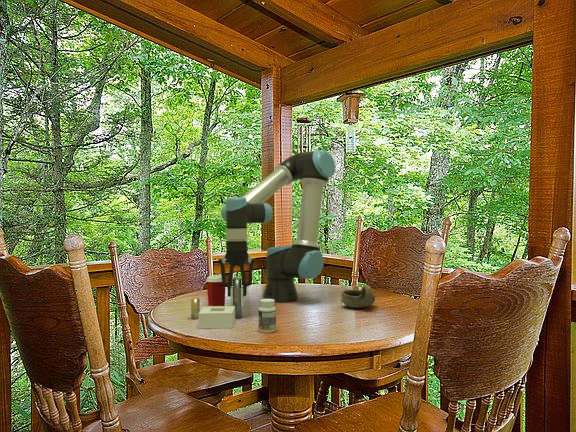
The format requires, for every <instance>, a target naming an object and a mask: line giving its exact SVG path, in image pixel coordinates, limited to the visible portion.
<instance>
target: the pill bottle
mask: <svg viewBox="0 0 576 432" xmlns="http://www.w3.org/2000/svg"><path fill="white" fill-rule="evenodd" d="M275 304H276V302H275V300H274V299H263V298H262V299H260V300H259V305H260V306H259V307H258V309H257V310H258V331H259V332H260V333H264V334H267V333H268V334H269V333H274V332H275V331H276V330H277V307H275Z"/></svg>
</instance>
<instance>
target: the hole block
mask: <svg viewBox="0 0 576 432" xmlns="http://www.w3.org/2000/svg"><path fill="white" fill-rule="evenodd" d="M235 322H236V319H235V306H231V305H225V306H208V305H206V306H203V307H202V308H200V312H199V319H198V329H200V330H201V328H211V329H233V328H234V324H235Z"/></svg>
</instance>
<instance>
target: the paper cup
mask: <svg viewBox="0 0 576 432" xmlns="http://www.w3.org/2000/svg"><path fill="white" fill-rule="evenodd" d="M205 282H206V289H207V303H208V305H207V306H226V305H225V304H226V288H227V287H226V286H223V285H222V276H221V275H210V276H207V278H206V280H205Z"/></svg>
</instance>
